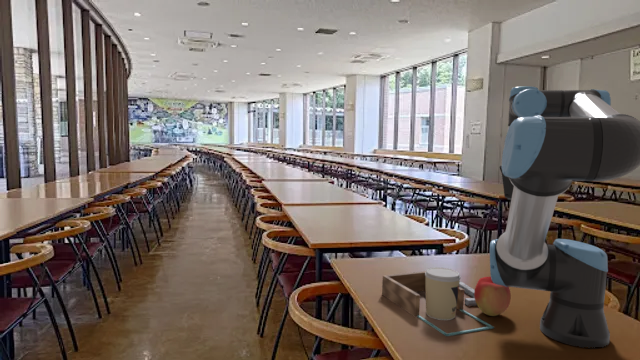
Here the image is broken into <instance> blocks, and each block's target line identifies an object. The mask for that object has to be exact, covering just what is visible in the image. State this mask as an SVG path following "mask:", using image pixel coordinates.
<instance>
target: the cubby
mask: <svg viewBox="0 0 640 360" xmlns="http://www.w3.org/2000/svg"><path fill="white" fill-rule="evenodd" d="M425 272H426V270H423V271H414V272H405V273H394V274H385V275H382V282H381V284H382V286H381V287H382V288H381V295H382V296H383V297H384V298H387V299H388V300H389V301H391V302H392V303H394V304H395V305H397V306H398V307H400V308H401V309H402V310H404V311H405V312H407V313H409V314H410V315H411V316H413V317H414V318H418V317H417V315H420V305H421V294H419V292H426V276H425ZM464 304H465V292H464V289H462V288H460V287H459V291H458V298H457V306H456V310H458V311H460V309H463V310H464Z"/></svg>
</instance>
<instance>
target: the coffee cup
mask: <svg viewBox="0 0 640 360" xmlns="http://www.w3.org/2000/svg"><path fill="white" fill-rule="evenodd" d="M425 271H426V272H425V276H426V291H425V314H426V315H427V317H429V318H431V319H435V320H439V321H451V320H454V319H455V317H456V313H457V309H456V306H457V298H458V291H459V282H460V281H461V277H462V276H461V275H460V273H459V271H457V270H456V269H455V270H454V269H452V268H449V267H448V268H447V267H446V268H445V267H430V268H427V269H426V270H425Z"/></svg>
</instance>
